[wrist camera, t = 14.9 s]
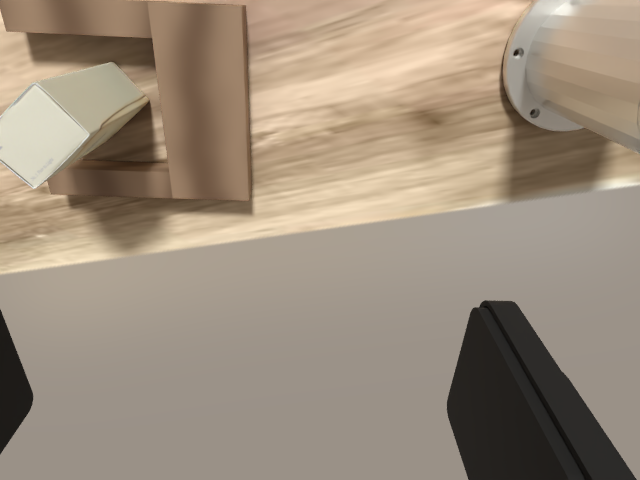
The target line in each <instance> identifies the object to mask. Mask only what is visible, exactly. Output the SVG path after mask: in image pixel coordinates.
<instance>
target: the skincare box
mask: <svg viewBox="0 0 640 480" xmlns="http://www.w3.org/2000/svg"><path fill="white" fill-rule="evenodd" d="M148 102H149V99H148V98H147V97H146V96H145V95H144V94H143V93H142V91H141V90H140V89H139V88H138V87H137V86H136V85H135V84H134V83H133V82H132V81H131V80H130V79H129V78H128V77H127V75H126V74H125V73H124V72H123V71H122V70H121V69H120V68H119V67H118V66H117V65H116V64H115V63H114V62H109V63H105V64H102V65H98V66H94V67H90V68H86V69H83V70H79V71H75V72H71V73H67V74H64V75H60V76H56V77H52V78H48V79H44V80H41V81H37V82H33V83H32V84H31V85H30V86H29V87H28V88H27V89H26V90H25V91H24V92H23V93H22V94H21V95H20V96H19V97H18V98H17V99H16V100H15V101H14V102H13V103H12V104H11V105H10V106H9V107H8V108H7V109H6V111H5V112H4V113H3V114H2V115H1V116H0V162H1V163H2V164H3V165H5V166H6V167H7V168H8V169H9V170H11V171H12V172H13V173H14V174H15V175H17V176H18V177H19V178H20V179H22V180H23V181H24V182H25V183H27V184H28V185H29V186H30V187H32V188H34V189H35V188H37V187H38V186H40V185H41V184H43V183H44V182H45V181H47V180H48V179H50V178H51V177H53V176H54V175H56V174H57V173H59V172H60V171H62V170H63V169H65V168H66V167H68V166H69V165H71V164H73V163H74V162H76V161H77V160H79V159H80V158H82V157H83V156H85V155H86V154H88V153H90V152H91V151H93V150H94V149H96V148H97V147H99V146H100V145H102V144H104V143H105V142H107V141H108V140H109V139H110V138H111V137H112V136H113V135H114V134H115V133H116V132H118V131H119V130H120V129H121V128H122V127H123V126H124V125H125V124H126V123H127V122H128V121H129V120H130V119H132V118H133V117H134V116H135V115H136V114H137V113H138V112H139V111H140V110H141V109H142V108H143V107H144V106H145V105H146V104H147V103H148Z"/></svg>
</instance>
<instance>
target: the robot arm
mask: <svg viewBox="0 0 640 480" xmlns="http://www.w3.org/2000/svg"><path fill="white" fill-rule="evenodd" d="M515 50H517V53H516V55H514V56H513V53H514V51H515ZM503 81H504V87H505V90H506V94H507V97H508V99H509V101H510V102H511V104H512V106H513V108H514V109H515V110H516V111H517V112H518V113H519V114H520V115H521V117H523V118H524V119H526V120H527V121H529V122H530V123H532V124H534V125H536V126H538V127H540V128H543V129H547V130H551V131H565V132H566V131H573V130H580V129H583V128H587V129H589V130H591V131H593V132H595V133H597V134H599V135H601V136H603V137H605V138H607V139H609V140H611V141H614V142H616V143H618V144H620V145H622V146H624V147H626V148H628V149H630V150H632V151H634V152H636V153H638V154H640V0H534V1H533V2H532V3H531V4H530V5H529V6H528V7H527V9H526V10H525V11H524V12H523V14H522V16H521V17H520V19H519V20H518V22H517V23H516V25H515V27H514V29H513V31H512V33H511V36H510V38H509V40H508V43H507V47H506V51H505V54H504V62H503ZM531 110H533V112H532V113H531V114H530V112H531ZM32 402H33V393H32V390H31V387H30V384H29V382H28V379H27V377H26V374H25V372H24V369H23V366H22V364H21V361H20V359H19V356H18V354H17V351H16V349H15V346H14V343H13V341H12V338H11V336H10V333H9V330H8V328H7V325H6V323H5V320H4V318H3V315H2V312H1V310H0V454H1V452H2V451H3V449H4V448H5V447H6V445H7V444H8V442H9V441H10V439H11V438H12V436H13V435H14V433H15V432H16V430H17V429H18V427H19V426H20V424H21V423H22V421H23V420H24V418H25V417H26V416H27V414H28V412H29V411H30V409H31V406H32ZM447 413H448V418H449V421H450V424H451V427H452V430H453V433H454V436H455V439H456V442H457V445H458V448H459V452H460V455H461V458H462V461H463V464H464V467H465V470H466V473H467V476H468V479H469V480H636V478H635V477H634V475H633V474H632V472H631V471H630V469H629V468H628V467H627V465H626V463H625V462H624V460H623V459H622V458H621V456H620V454H619V453H618V451H617V450H616V448H615V447H614V446H613V444H612V442H611V441H610V439H609V438H608V437H607V435H606V433H605V432H604V431H603V429H602V428H601V426H600V425H599V423H598V422H597V420H596V419H595V417H594V416H593V414H592V413H591V411H590V410H589V408H588V407H587V405H586V404H585V403H584V401H583V399H582V398H581V396H580V395H579V393H578V392H577V390H576V389H575V388H574V386H573V385H572V383H571V382H570V380H569V379H568V378H567V377H566V375H565V374H564V373H563V372H562V371H561V370H560V368H559V367H558V365H557V364H556V362H555V361H554V360H553V358H552V356H551V355H550V353H549V352H548V350H547V349H546V347H545V346H544V344H543V343H542V341H541V340H540V338H539V337H538V335H537V334H536V332H535V331H534V330H533V328H532V327H531V325H530V323H529V322H528V320H527V319H526V317H525V316H524V314H523V313H522V311H521V310H520V308H519V307H518V306H517V304H516V303H515V302H512V301H483V302H482V303H481V305H480V307H479V308H473V309H472V311H471V313H470V317H469V321H468V324H467V328H466V332H465V336H464V340H463V343H462V347H461V351H460V355H459V358H458V362H457V366H456V369H455V373H454V377H453V381H452V384H451V388H450V392H449V396H448V400H447Z"/></svg>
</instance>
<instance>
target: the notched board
mask: <svg viewBox="0 0 640 480" xmlns="http://www.w3.org/2000/svg"><path fill="white" fill-rule="evenodd" d="M0 10H1V14H2V17H3V21H4V25H5V28H6V31H10V32H31V33H53V34H74V35H96V36H117V37H139V38H152V42H153V50H154V57H155V65H156V73H157V81H158V88H159V96H160V104H161V112H162V119H163V127H164V135H165V143H166V150H167V158H168V163H153V162H125V161H97V160H77V161H76V162H74V163H73V164H71V165H69V166H68V167H66V168H65V169H63V170H62V171H60V172H59V173H57V174H56V175H54V176H53V177H51V178H50V179H48V180H47V181H48V185H49V189H50V192H51V194H57V195H88V196H118V197H149V198H179V199H209V200H240V201H249V198H250V195H251V192H252V178H251V148H250V118H249V88H248V58H247V28H246V5H226V4H206V3H186V2H166V1H145V0H0Z"/></svg>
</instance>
